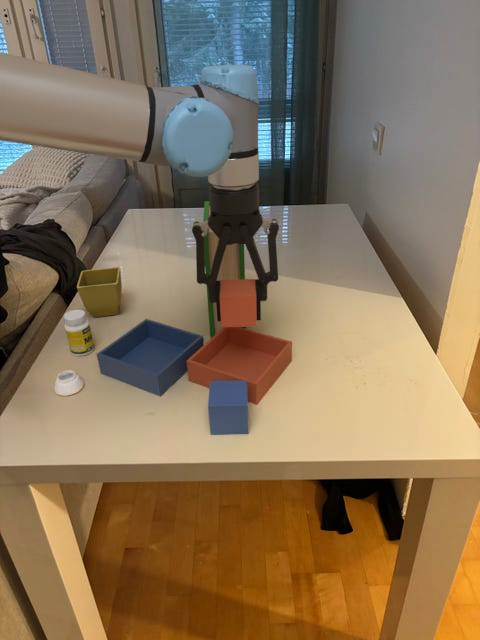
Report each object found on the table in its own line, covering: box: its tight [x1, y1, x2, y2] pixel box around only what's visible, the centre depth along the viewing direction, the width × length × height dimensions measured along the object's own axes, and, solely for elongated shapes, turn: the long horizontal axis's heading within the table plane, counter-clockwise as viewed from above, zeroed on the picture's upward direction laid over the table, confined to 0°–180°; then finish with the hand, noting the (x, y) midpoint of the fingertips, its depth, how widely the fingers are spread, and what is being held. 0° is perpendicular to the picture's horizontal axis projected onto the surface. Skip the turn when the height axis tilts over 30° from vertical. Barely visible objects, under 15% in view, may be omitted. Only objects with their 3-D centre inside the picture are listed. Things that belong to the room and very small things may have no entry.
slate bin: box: [96, 318, 205, 397], centre depth 89 cm, size 14×14×4 cm
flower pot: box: [76, 266, 123, 318], centre depth 106 cm, size 9×9×9 cm
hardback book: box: [202, 200, 247, 340], centre depth 97 cm, size 18×7×24 cm, turn 3°
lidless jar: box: [53, 369, 85, 397], centre depth 84 cm, size 5×3×5 cm
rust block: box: [219, 278, 258, 328], centre depth 80 cm, size 6×6×6 cm
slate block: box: [207, 380, 249, 436], centre depth 74 cm, size 6×6×6 cm
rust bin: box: [187, 327, 293, 406], centre depth 86 cm, size 14×14×4 cm
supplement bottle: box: [63, 309, 95, 357], centre depth 93 cm, size 5×5×8 cm
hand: (239, 316), depth 81 cm, fingers closed on rust block, 6 cm apart
